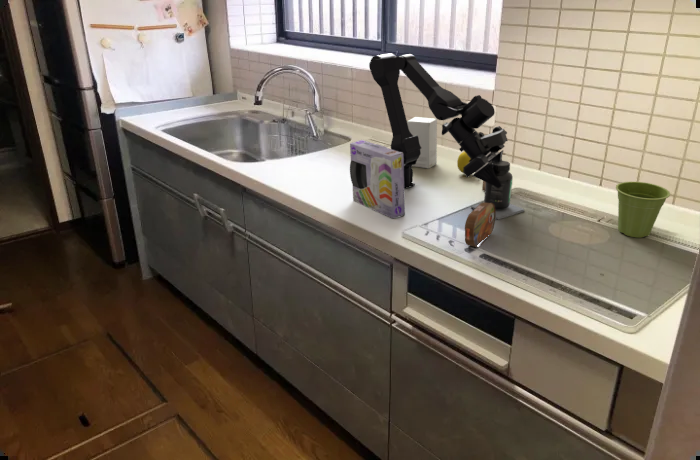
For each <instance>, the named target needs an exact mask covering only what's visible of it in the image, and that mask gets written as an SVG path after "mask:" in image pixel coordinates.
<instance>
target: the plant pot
mask: <svg viewBox="0 0 700 460" xmlns="http://www.w3.org/2000/svg"><path fill="white" fill-rule="evenodd" d="M615 189H616V191H617V199H618V210H617V211H618V213H617V215H618V217H617V219H618V220H617V222H618V223H617V230H618V232H619V233H623V235H626V236H627V237H631V238H636V239H637V238H638V239H641V238H644V237H649V236H650V234H651V232H652V230H653V228H654V227H655V226H654V225H655V223H656V220H657V219H658V216H659V214H660V211H661V210H662V207H663V206H664V205H665V202H666V200H667V199H668V198H670V195H671V192H670V191H669V190H668V189H667V188H666V187H663V186H661V185H657V184H655V183H651V182H643V181H624V182H619V183H617V184H616V186H615Z"/></svg>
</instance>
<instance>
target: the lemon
mask: <svg viewBox="0 0 700 460" xmlns="http://www.w3.org/2000/svg"><path fill="white" fill-rule="evenodd" d="M469 160H470V157H469V156H468V155H467V154H466V153H465V151H464V150H463V151H462V152H461V153H460V154H459V156H458V158H457V162H456V163H457V169H458V171H460V172H461V173H463V167H465V166H466V165H467V164H468V163H469ZM463 174H464V173H463Z"/></svg>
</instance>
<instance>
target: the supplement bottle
mask: <svg viewBox="0 0 700 460" xmlns="http://www.w3.org/2000/svg"><path fill="white" fill-rule="evenodd" d="M492 170H493V171H494V173H495V175H496V176H497V178H498V179H499V181H500V183H501V185H502V186H501V187H500V188H497V187H495V186H493V185H491V184H489V183H487V182H486V186H485V191H484V199H483V200H484V201H483V202H485V203H493V204H494V206H495V209H505V208H507V207H509V205H510V204H511V197H512V188H513V179H514V178H513V174H512V173H511V172H510V171H511V163H510V162H509V161H507V160H503V159H502V160H496V161H493V162H492Z"/></svg>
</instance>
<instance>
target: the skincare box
mask: <svg viewBox="0 0 700 460" xmlns="http://www.w3.org/2000/svg"><path fill="white" fill-rule="evenodd" d="M407 124H408V128H409V131H410V133H411V134H412V135H413V136H416V135H417V136H418V138H419V144H420V146H421V149H420V152H421V154H420V156H419V158H418V159H417V162H416V164H415V165H412V167H413V168H414V167H415V168H423V169H427V170H428V169H431V168H432V167H434V166H436V164H437V161H438V160H437V157H438V156H437V155H438V154H437V152H438V151H437V150H438V149H437V148H438V147H437V146H438V119H437V118H433V117H431V118H430V117H421V116H414V117H412V118H411V119H409V120H407Z"/></svg>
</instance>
